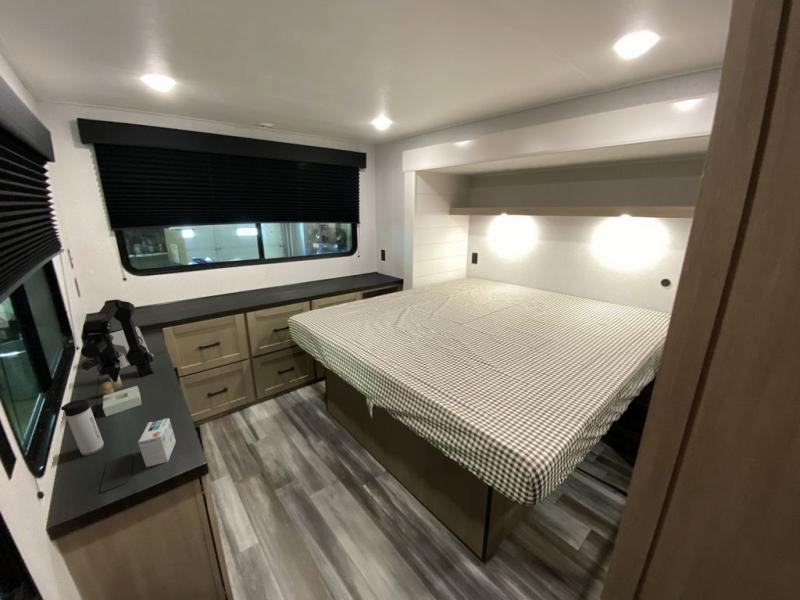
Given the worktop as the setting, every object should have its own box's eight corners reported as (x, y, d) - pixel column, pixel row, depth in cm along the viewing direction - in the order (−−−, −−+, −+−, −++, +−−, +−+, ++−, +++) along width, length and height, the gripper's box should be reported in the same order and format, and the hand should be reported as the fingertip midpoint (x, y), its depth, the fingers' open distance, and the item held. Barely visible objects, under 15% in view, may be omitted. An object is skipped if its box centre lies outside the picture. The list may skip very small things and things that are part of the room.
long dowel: (113, 386, 142) (106, 366, 138) (122, 384, 143) (115, 364, 140) (113, 390, 139) (106, 369, 136) (122, 387, 141) (115, 366, 138)
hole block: (106, 403, 145) (103, 395, 143) (139, 393, 152) (137, 385, 151) (105, 416, 136) (102, 408, 135) (141, 404, 143) (139, 396, 142)
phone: (98, 493, 100) (107, 461, 111) (99, 495, 100) (107, 463, 112) (129, 481, 103) (134, 452, 115) (130, 483, 104) (134, 454, 116)
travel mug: (77, 452, 116) (57, 405, 110) (99, 441, 122) (82, 395, 116) (84, 458, 114) (65, 410, 107) (107, 446, 119) (90, 400, 113)
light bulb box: (155, 446, 119) (147, 421, 115) (176, 441, 121) (169, 417, 118) (145, 468, 109) (136, 442, 106) (168, 462, 111) (160, 436, 108)
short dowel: (106, 394, 152) (101, 383, 150) (115, 391, 154) (110, 380, 152) (105, 397, 149) (101, 386, 147) (114, 394, 151) (110, 383, 149)
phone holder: (118, 369, 174) (107, 339, 169) (111, 364, 179) (100, 335, 174) (154, 356, 188) (146, 327, 182) (147, 352, 193) (139, 324, 188)
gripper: (79, 346, 137) (91, 378, 142) (76, 361, 124) (89, 396, 129) (113, 338, 144) (124, 369, 149) (114, 352, 131) (125, 386, 135)
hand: (115, 380), depth 140 cm, fingers closed on long dowel, 3 cm apart
